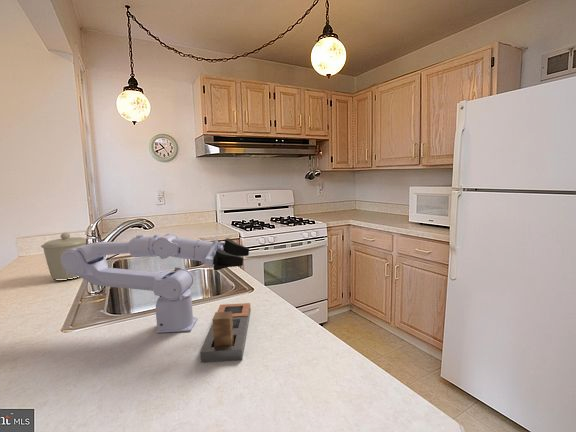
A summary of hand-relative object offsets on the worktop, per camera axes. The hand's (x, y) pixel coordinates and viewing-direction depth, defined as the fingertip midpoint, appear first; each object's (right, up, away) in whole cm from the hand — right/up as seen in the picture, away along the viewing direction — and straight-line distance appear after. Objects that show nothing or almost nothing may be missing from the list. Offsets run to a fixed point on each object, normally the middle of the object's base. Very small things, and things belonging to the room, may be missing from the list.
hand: (245, 256), depth 86 cm
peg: (-4, -21, -11) cm, 24 cm away
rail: (-4, -20, -2) cm, 21 cm away
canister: (-89, -17, +57) cm, 107 cm away
